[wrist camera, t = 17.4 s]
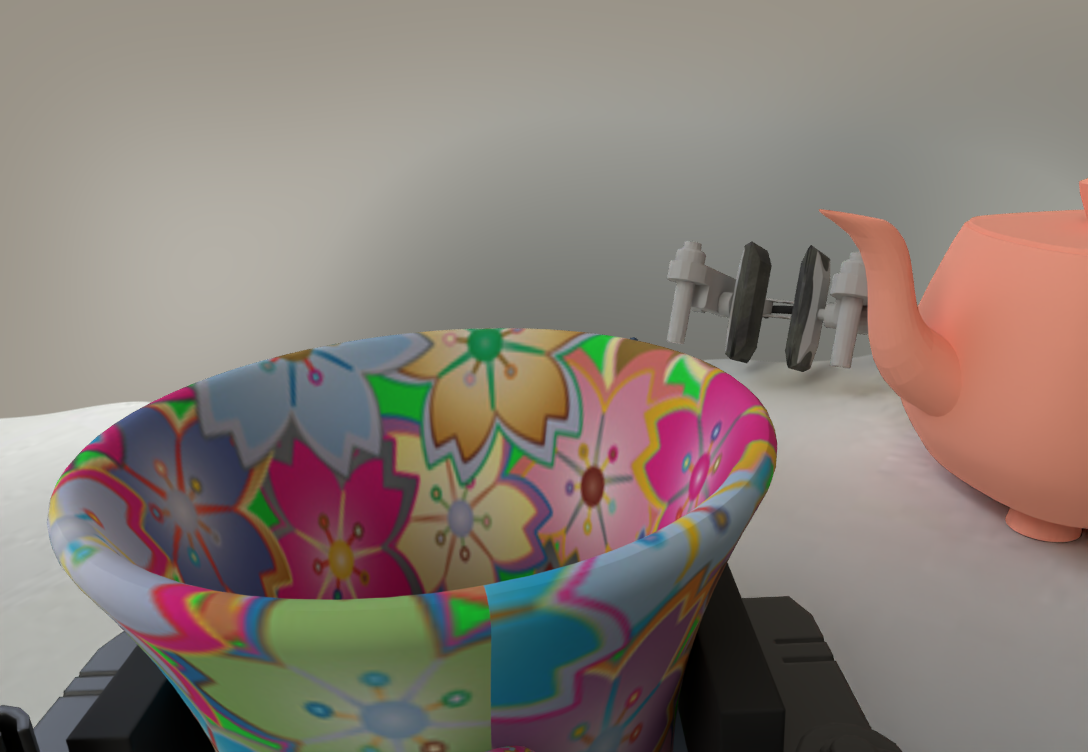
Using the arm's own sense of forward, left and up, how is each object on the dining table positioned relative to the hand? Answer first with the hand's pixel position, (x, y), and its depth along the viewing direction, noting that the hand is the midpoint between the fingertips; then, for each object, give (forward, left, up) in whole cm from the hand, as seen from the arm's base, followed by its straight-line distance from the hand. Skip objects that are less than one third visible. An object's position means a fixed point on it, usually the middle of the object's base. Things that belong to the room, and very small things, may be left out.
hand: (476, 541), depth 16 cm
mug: (0, -5, -7) cm, 8 cm away
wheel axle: (+12, +27, -2) cm, 30 cm away
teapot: (+22, +15, -8) cm, 27 cm away
